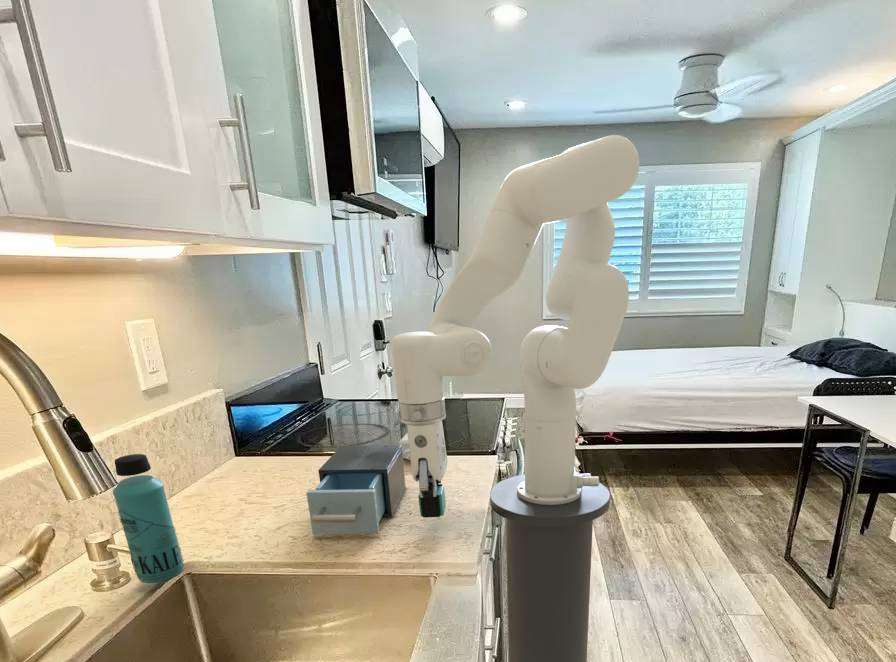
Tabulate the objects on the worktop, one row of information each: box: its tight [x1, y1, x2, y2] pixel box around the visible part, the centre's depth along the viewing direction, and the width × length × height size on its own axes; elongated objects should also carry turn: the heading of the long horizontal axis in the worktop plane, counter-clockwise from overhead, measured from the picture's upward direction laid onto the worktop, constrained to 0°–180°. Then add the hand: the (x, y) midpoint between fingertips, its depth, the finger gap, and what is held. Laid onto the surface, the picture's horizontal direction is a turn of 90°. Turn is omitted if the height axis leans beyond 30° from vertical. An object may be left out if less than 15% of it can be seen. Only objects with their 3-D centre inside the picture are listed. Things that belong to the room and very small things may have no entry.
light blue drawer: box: [306, 473, 387, 535], centre depth 101 cm, size 18×11×8 cm, turn 178°
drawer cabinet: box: [317, 444, 407, 519], centre depth 111 cm, size 15×13×10 cm
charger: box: [397, 432, 410, 461], centre depth 138 cm, size 5×9×15 cm
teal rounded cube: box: [417, 485, 447, 518], centre depth 100 cm, size 4×4×4 cm
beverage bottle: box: [112, 453, 185, 584], centre depth 83 cm, size 6×7×20 cm
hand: (433, 509), depth 101 cm, fingers closed on teal rounded cube, 4 cm apart
